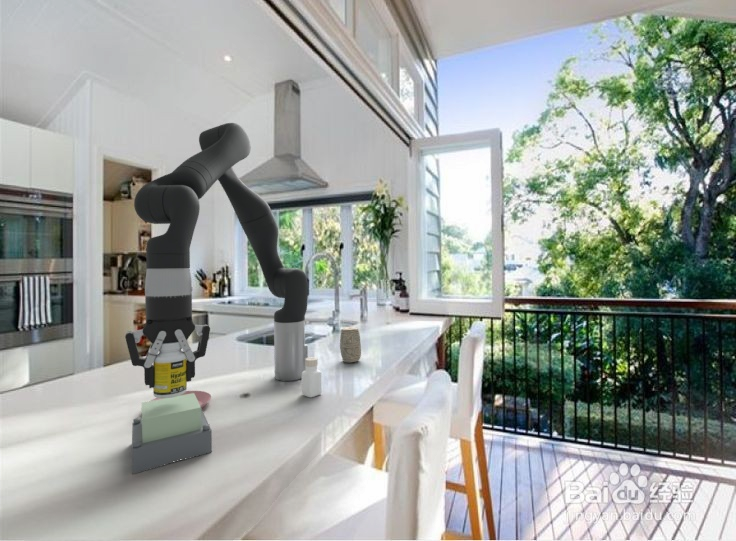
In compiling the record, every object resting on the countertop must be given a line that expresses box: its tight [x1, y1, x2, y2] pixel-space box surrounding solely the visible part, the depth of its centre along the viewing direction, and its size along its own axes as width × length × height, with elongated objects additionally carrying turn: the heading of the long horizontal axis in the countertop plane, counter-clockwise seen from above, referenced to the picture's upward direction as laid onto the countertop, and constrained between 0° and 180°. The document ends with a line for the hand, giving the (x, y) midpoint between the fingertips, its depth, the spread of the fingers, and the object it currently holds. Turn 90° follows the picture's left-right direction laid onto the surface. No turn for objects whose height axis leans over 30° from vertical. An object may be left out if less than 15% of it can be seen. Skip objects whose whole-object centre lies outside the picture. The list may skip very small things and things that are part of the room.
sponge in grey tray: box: [131, 393, 213, 475], centre depth 65 cm, size 12×12×8 cm
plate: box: [150, 390, 212, 410], centre depth 83 cm, size 14×14×2 cm
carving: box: [339, 326, 362, 364], centre depth 124 cm, size 6×8×12 cm
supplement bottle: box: [152, 342, 188, 398], centre depth 65 cm, size 5×5×10 cm
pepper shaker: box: [301, 356, 323, 399], centre depth 92 cm, size 4×4×10 cm
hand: (170, 383), depth 65 cm, fingers closed on supplement bottle, 5 cm apart
